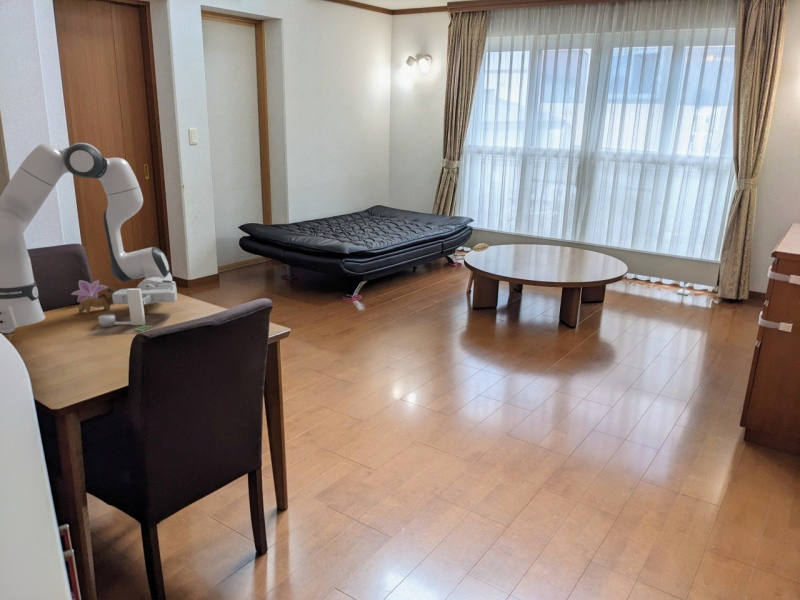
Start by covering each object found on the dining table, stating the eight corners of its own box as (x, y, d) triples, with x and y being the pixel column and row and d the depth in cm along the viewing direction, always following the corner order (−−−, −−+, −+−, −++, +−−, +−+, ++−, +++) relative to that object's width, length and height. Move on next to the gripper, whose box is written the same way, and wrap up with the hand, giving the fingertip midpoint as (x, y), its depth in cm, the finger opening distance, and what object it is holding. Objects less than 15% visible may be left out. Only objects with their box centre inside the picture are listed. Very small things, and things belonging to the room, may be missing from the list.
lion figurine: (117, 308, 219) (114, 285, 217) (122, 312, 215) (119, 288, 213) (74, 317, 210) (69, 292, 207) (78, 320, 206) (74, 295, 203)
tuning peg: (96, 327, 194) (91, 291, 191) (103, 322, 199) (98, 287, 195) (141, 326, 194) (137, 291, 191) (147, 321, 199) (143, 287, 196)
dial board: (87, 339, 188) (86, 334, 187) (109, 320, 206) (108, 316, 205) (156, 337, 190) (156, 332, 189) (172, 318, 208) (171, 313, 207)
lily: (115, 301, 232) (106, 278, 233) (106, 297, 221) (96, 274, 221) (84, 313, 230) (74, 290, 230) (73, 310, 218) (63, 286, 219)
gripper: (118, 283, 207) (104, 294, 194) (179, 281, 209) (169, 292, 196) (121, 300, 209) (107, 312, 195) (181, 298, 211) (171, 310, 198)
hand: (139, 302), depth 196 cm, fingers closed
